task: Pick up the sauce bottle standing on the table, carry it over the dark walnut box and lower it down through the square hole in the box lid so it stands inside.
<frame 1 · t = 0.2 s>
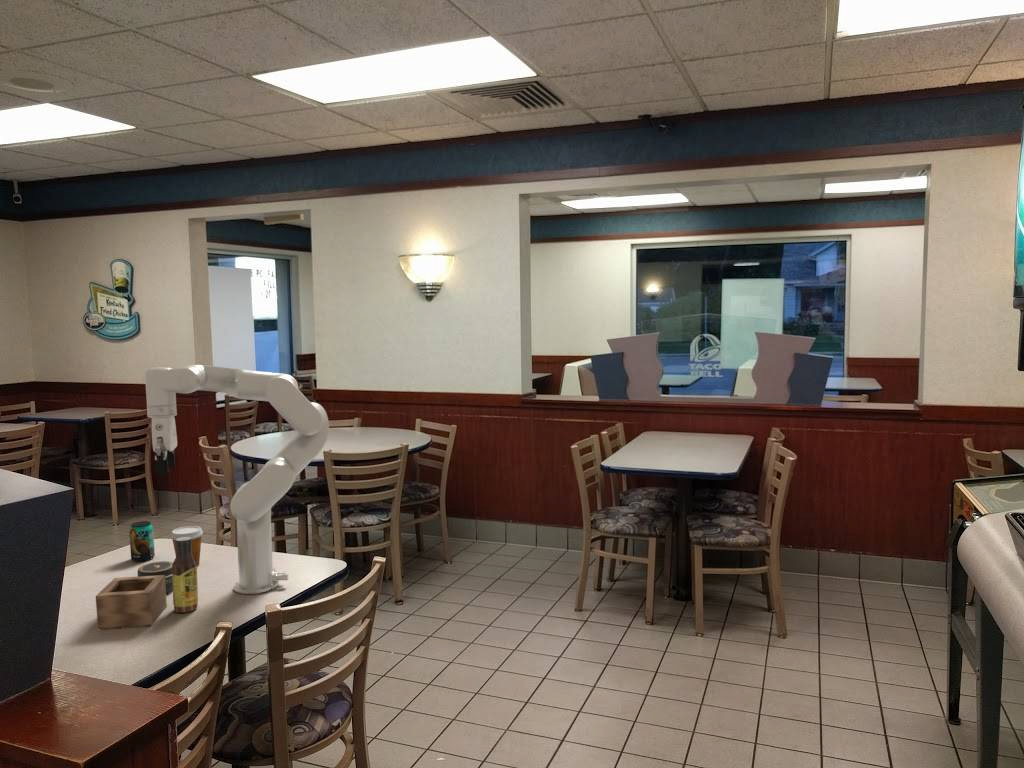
hand: (165, 470, 212), 36 cm above the table, tool pointing down, fingers open, 9 cm apart
walnut box: (133, 617, 199), on the table
sauce bottle: (186, 610, 204), on the table
jar: (157, 592, 217), on the table
beverage can: (143, 559, 245), on the table
disposable coffee cup: (188, 566, 238), on the table
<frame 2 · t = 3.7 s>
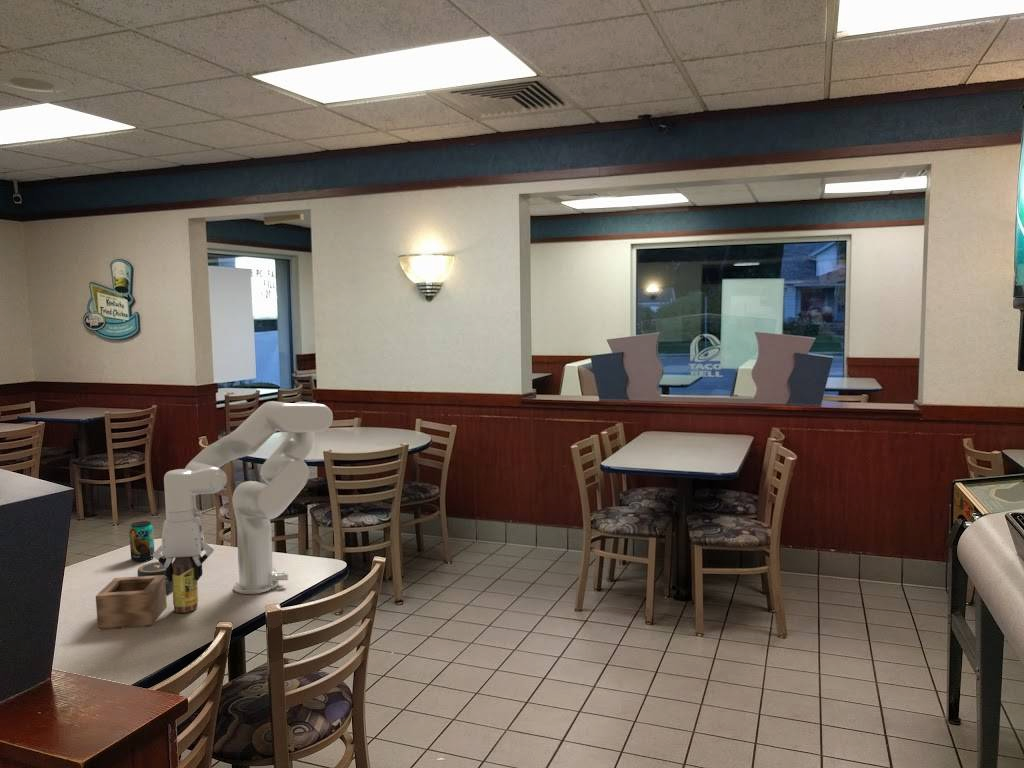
hand: (184, 578, 203), 9 cm above the table, tool pointing down, fingers closed on sauce bottle, 6 cm apart
sauce bottle: (186, 609, 204), on the table, touching gripper
everything else where it was.
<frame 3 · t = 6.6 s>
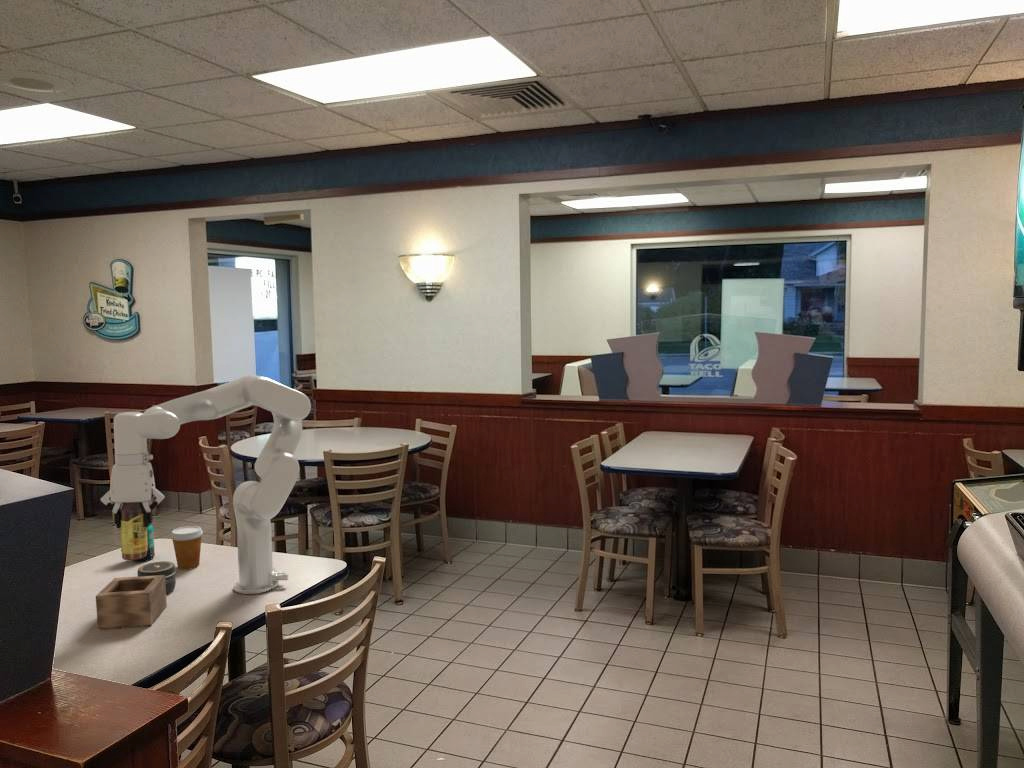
hand: (133, 525, 196), 25 cm above the table, tool pointing down, fingers closed on sauce bottle, 6 cm apart
sauce bottle: (135, 558, 197), point 16 cm above the table, touching gripper
everything else where it was.
when the fingers open (11 cm above the table, at t = 9.8 s): sauce bottle drops 2 cm, resting on walnut box.
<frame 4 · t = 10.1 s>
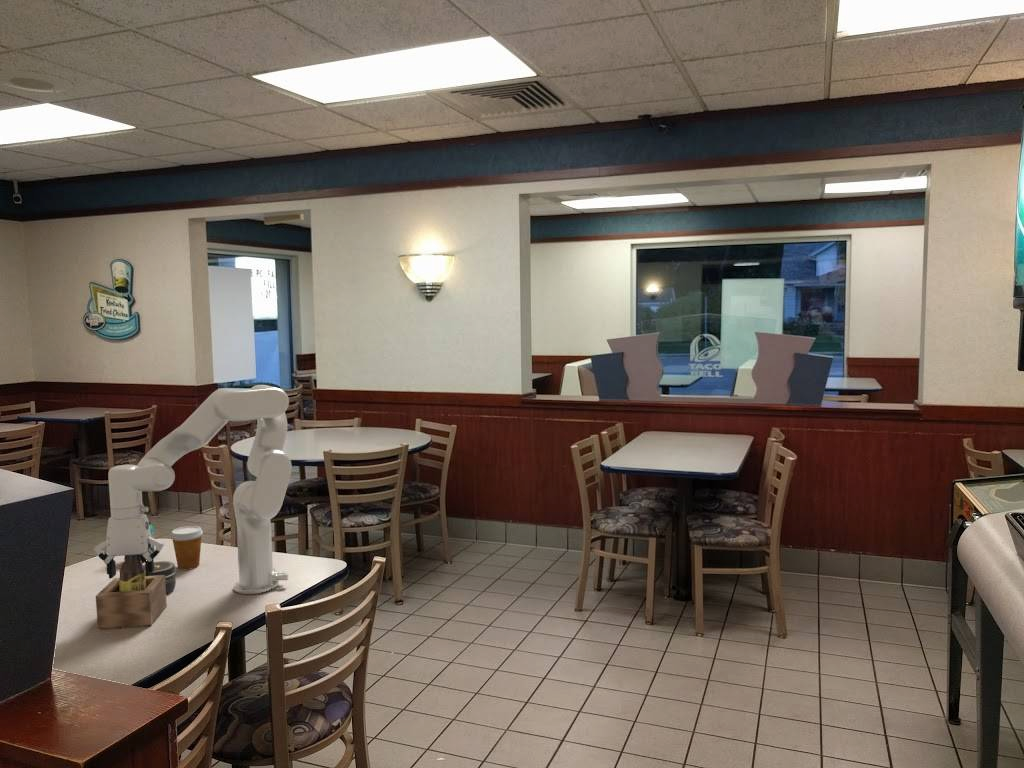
hand: (131, 575, 197), 12 cm above the table, tool pointing down, fingers open, 8 cm apart
sauce bottle: (133, 616, 199), resting on walnut box
everything else where it was.
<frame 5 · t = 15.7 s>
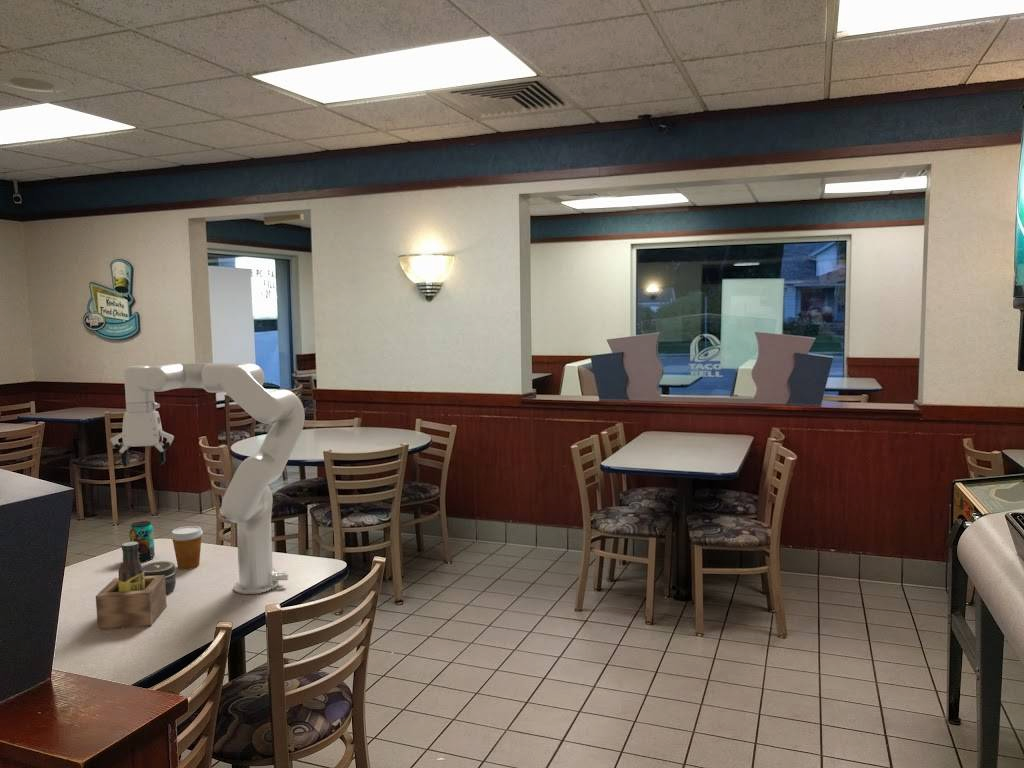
hand: (144, 465, 219), 36 cm above the table, tool pointing down, fingers open, 9 cm apart
nothing on the table moved.
at the end: sauce bottle 0.1 cm off-centre on the walnut box, point 0.2 cm above the walnut box's base; sauce bottle tilted 0°; the gripper is holding nothing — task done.
